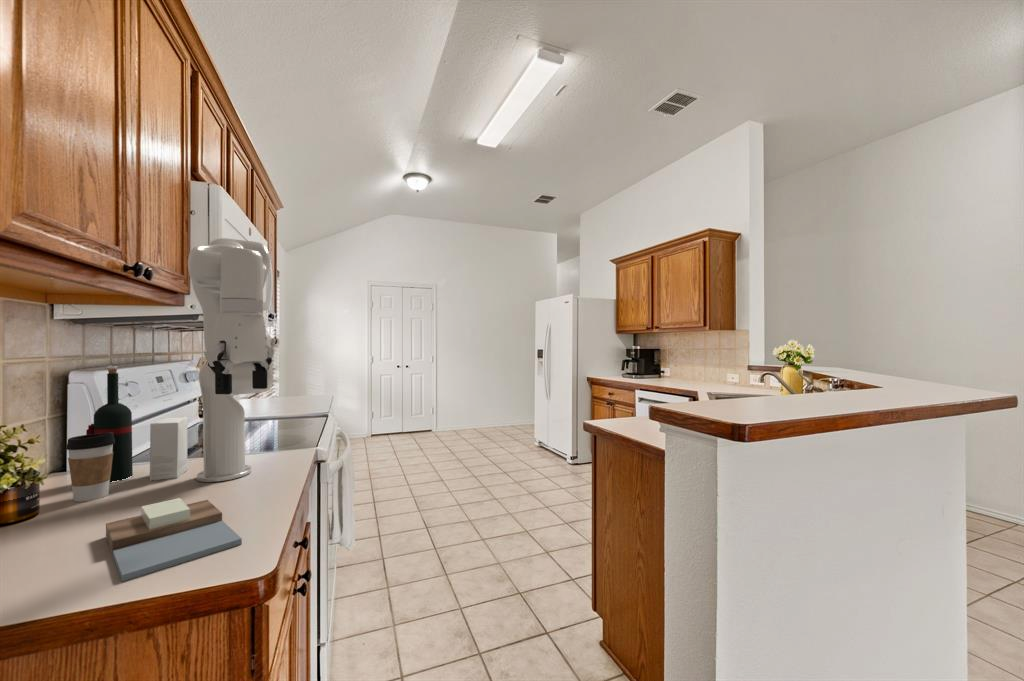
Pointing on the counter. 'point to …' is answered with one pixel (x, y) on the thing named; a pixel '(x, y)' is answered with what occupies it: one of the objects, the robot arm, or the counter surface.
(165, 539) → the slate mat
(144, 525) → the walnut deck
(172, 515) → the sage tile
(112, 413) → the wine bottle
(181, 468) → the skincare box
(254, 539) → the counter surface
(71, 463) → the coffee cup
